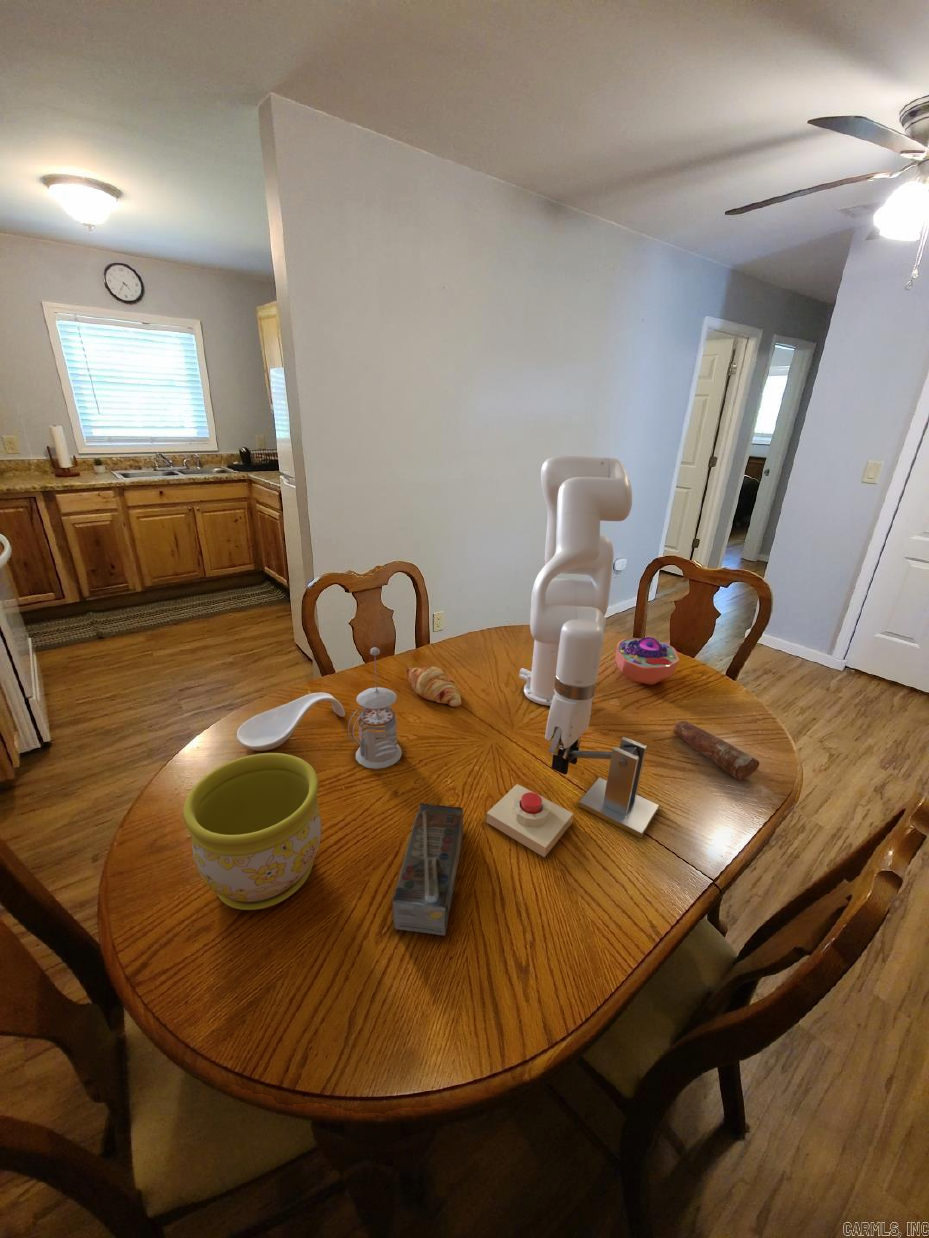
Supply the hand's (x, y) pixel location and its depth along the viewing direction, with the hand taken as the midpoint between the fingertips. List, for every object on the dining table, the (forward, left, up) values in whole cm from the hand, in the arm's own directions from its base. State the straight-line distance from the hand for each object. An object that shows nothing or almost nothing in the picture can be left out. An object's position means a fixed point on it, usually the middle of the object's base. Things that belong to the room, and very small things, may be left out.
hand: (564, 765), depth 99 cm
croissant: (-42, +8, -4) cm, 43 cm away
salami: (+21, +28, -4) cm, 35 cm away
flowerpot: (-25, -50, -4) cm, 56 cm away
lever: (+6, 0, +4) cm, 8 cm away
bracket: (+12, 0, -4) cm, 12 cm away
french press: (-34, -19, -4) cm, 39 cm away
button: (+1, -14, 0) cm, 14 cm away
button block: (+1, -14, -4) cm, 15 cm away
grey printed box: (-5, -34, -4) cm, 34 cm away
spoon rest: (-54, -25, -4) cm, 60 cm away
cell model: (-3, +54, -4) cm, 54 cm away
